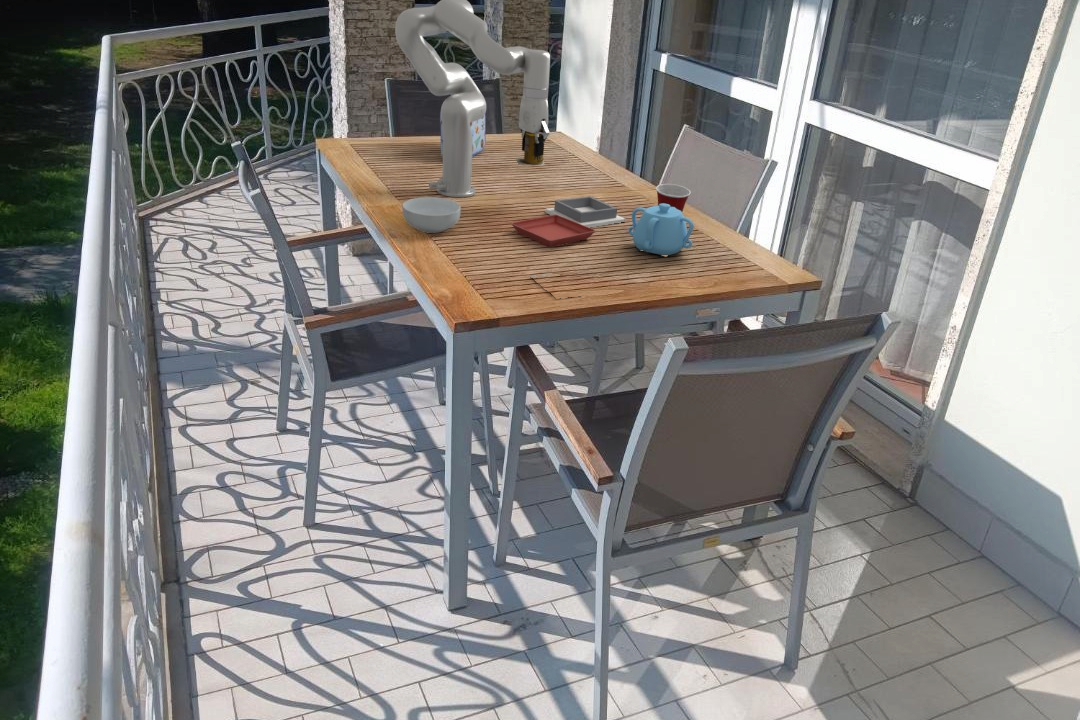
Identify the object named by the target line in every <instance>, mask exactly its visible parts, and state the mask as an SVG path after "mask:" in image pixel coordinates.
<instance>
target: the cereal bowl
mask: <svg viewBox="0 0 1080 720" xmlns="http://www.w3.org/2000/svg"><path fill="white" fill-rule="evenodd" d="M401 206H402V208H401V209H402V215H403V218H404V220H405V222H406V223H407V224H408V225H409V226H411V227H413V228H415V229H417V230H419V231H420V230H421V232H423V231H424V232H423V233H427V232H429V234H431V233H432V234H436V233H441V232H444V231H445V230H448V229H450V228H452V227H454V226H455V225H456V224H457V223H458V222H459V220H460V217H461V204H460V203H458V202H457V201H455V200H452V199H449V198H443V197H437V196H436V197H434V196H433V197H432V196H425V197H414V198H411V199H407V200H406V201H404V202H403V203H402V205H401Z"/></svg>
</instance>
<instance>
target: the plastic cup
mask: <svg viewBox="0 0 1080 720" xmlns="http://www.w3.org/2000/svg"><path fill="white" fill-rule="evenodd" d="M655 189H656V195H657V206H659V204H662V203H665V204H669V205H670V207H675V208H676V209H678V210H680V211H681V212H682V213H683V211H684V209H685V206H686V202H687V201H688V198H689V196H690V195H691V193H692V192H691V190H690V189H688V187H685V186H683V185H679V184H674V183H661V184H658V185H657V186H656V187H655Z"/></svg>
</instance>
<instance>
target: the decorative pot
mask: <svg viewBox="0 0 1080 720" xmlns="http://www.w3.org/2000/svg"><path fill="white" fill-rule="evenodd" d="M638 212H643V213H641V214H642V215H640V218H639V219H638V221H637V213H638ZM631 221H632V225H631V226H630V227H629V228H628V234H629V235H631V236H632V241H633V245H634V246H635V247H636V249H638V250H639V251H640V250H643V251H646V252H645V253H649V254H650V253H651V254H656V255H659V256H660V255H669V256H670V255H674V254H677V253H679V252H680V251H682V250H683V249H684V248H685V249H690V248H692V246H693V241H692V240H691V239H690V237H691V235H692V233H693V231H694V228H695V227H694V226H695V224H694V222H693V220H692V219H691V218H689V217H687V216H684V214H683V212H681V211H680V210H678V209H676V208H675V207H670V205H669V204H665V203H662V204H659V206H658V205H653V206H650V207H647V208H645V207H641V206H640V207H636V208H635V209H634V210H633V211H632V212H631ZM687 224H688V225H689V227H687ZM687 243H688V244H687Z"/></svg>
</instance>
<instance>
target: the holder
mask: <svg viewBox="0 0 1080 720" xmlns="http://www.w3.org/2000/svg"><path fill="white" fill-rule="evenodd" d="M545 213H546V214H548V216H551V215H559V216H561V217H564V218H566V219H569V220H571V221H574V222H576V223H579V224H581V225H584V226H586V227H592V228H596V227H595V226H599V227H603V226H602V225H605V226H609V225H608V224H612V225H615V224H614V223H619V224H622V223H621V222H626V218H624V217H622V216H619V215H618V207H615V206H613V205H610V204H609V203H606V202H604V201H602V200H600V199H597V198H595V197H593V196H591V195H589V196H582V197H574V198H566V199H564V198H563V199H556V200H554V207H548V208H545Z"/></svg>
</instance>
